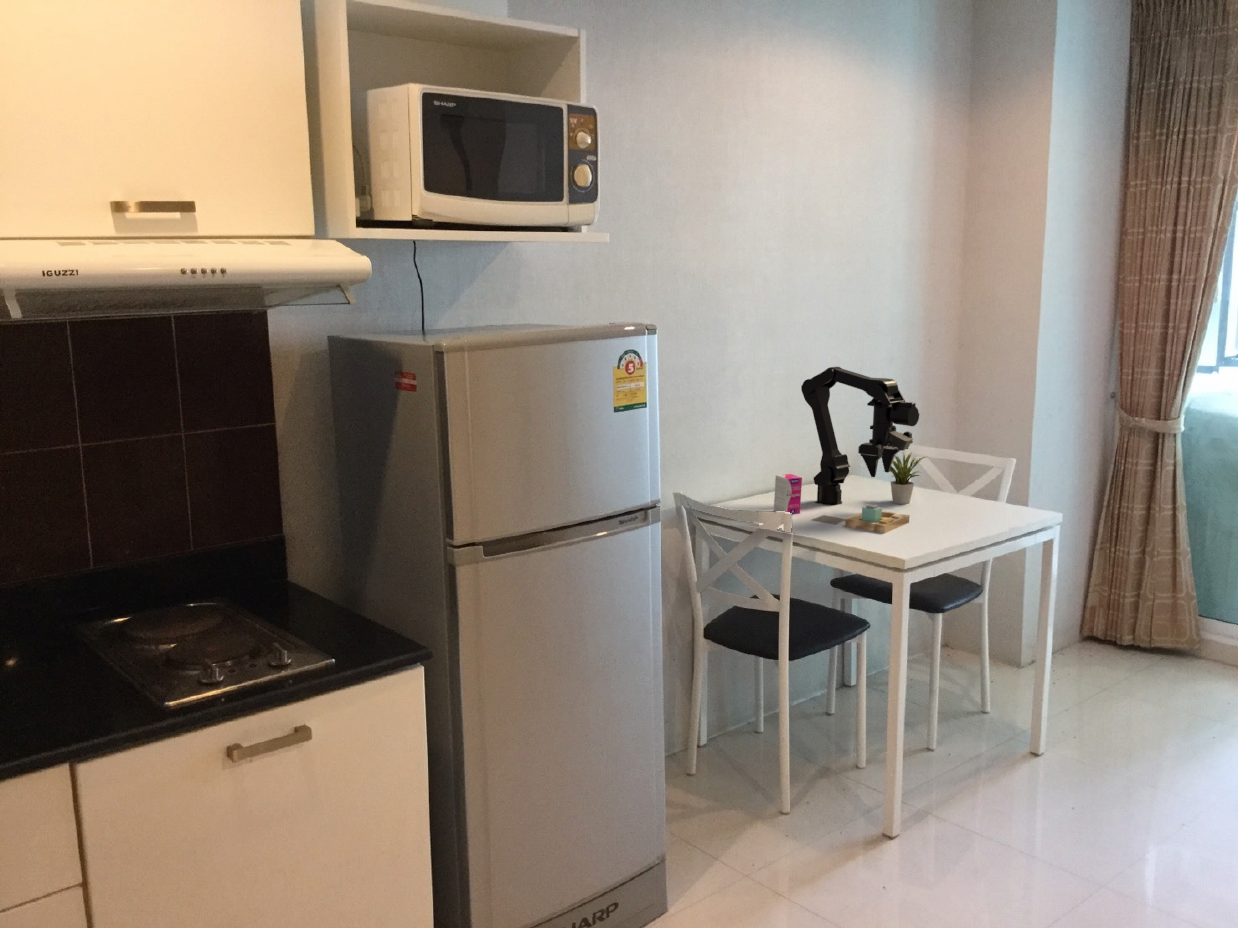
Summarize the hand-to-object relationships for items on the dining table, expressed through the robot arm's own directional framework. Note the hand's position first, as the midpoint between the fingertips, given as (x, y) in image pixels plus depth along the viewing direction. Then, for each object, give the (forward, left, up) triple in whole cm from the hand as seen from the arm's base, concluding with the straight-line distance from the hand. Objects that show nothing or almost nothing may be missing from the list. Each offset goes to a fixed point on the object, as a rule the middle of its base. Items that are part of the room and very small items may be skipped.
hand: (880, 474), depth 315 cm
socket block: (+6, -13, -12) cm, 19 cm away
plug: (+6, -17, -12) cm, 22 cm away
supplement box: (-21, -17, -12) cm, 30 cm away
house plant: (-1, +21, -12) cm, 24 cm away
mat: (-7, -17, -12) cm, 22 cm away
